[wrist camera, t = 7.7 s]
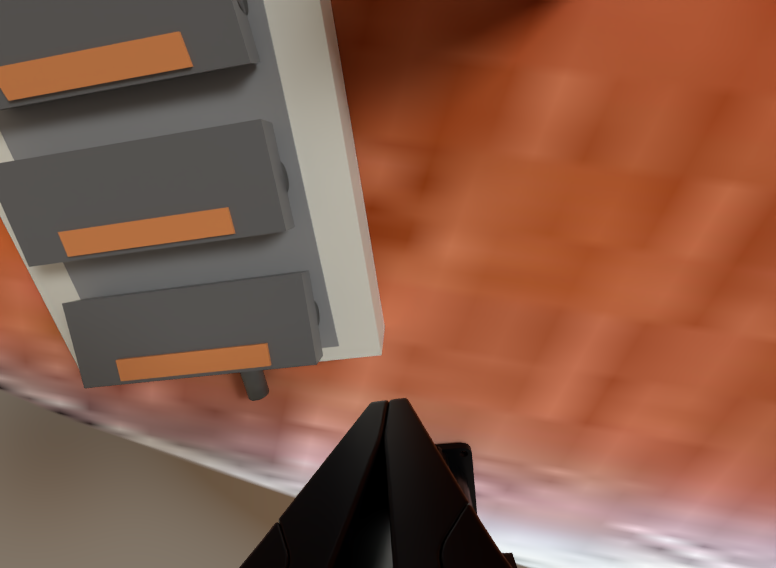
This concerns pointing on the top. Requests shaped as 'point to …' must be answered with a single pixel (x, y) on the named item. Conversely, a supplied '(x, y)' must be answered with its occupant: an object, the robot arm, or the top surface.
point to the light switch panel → (297, 153)
